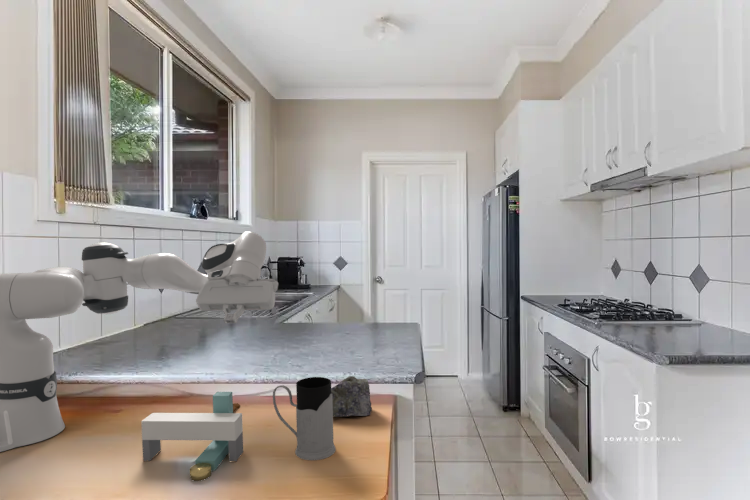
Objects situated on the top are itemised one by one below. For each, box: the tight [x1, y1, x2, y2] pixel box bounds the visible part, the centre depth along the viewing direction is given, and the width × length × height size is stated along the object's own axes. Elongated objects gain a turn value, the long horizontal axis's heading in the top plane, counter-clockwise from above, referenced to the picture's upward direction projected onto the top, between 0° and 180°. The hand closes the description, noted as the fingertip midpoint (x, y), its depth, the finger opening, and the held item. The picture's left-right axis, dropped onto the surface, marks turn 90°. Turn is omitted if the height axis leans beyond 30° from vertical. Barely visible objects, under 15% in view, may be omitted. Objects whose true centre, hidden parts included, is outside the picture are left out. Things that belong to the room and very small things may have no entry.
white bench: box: [140, 412, 244, 462], centre depth 101 cm, size 20×4×8 cm, turn 87°
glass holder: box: [272, 376, 336, 461], centre depth 103 cm, size 9×14×15 cm, turn 74°
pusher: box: [194, 391, 234, 471], centre depth 101 cm, size 4×12×12 cm, turn 176°
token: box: [189, 463, 212, 482], centre depth 93 cm, size 4×4×2 cm
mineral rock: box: [331, 375, 373, 418], centre depth 123 cm, size 13×11×10 cm
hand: (229, 321), depth 120 cm, fingers closed
